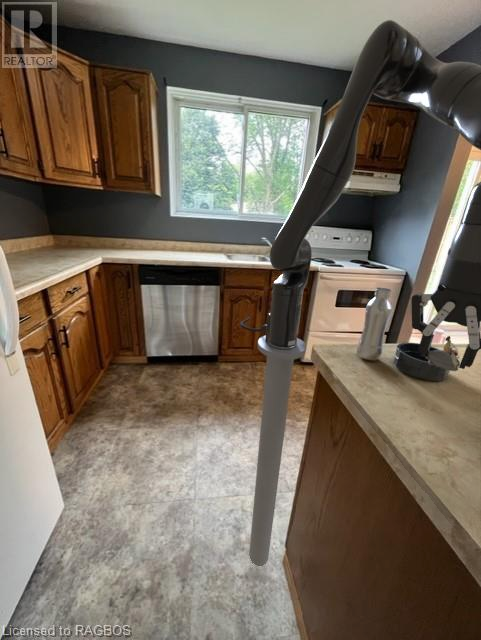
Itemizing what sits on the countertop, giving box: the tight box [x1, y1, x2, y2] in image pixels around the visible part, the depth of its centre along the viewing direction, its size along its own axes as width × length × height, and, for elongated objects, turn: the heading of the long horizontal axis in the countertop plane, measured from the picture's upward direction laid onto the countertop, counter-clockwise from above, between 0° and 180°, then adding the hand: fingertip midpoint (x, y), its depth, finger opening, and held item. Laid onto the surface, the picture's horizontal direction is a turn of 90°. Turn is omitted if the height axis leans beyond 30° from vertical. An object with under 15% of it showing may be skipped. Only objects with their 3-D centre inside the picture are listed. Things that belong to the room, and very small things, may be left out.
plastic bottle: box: [356, 287, 394, 361], centre depth 74 cm, size 6×7×20 cm
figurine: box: [426, 335, 461, 372], centre depth 45 cm, size 5×4×6 cm
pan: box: [392, 342, 451, 382], centre depth 71 cm, size 12×12×5 cm
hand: (442, 360), depth 46 cm, fingers closed on figurine, 4 cm apart
